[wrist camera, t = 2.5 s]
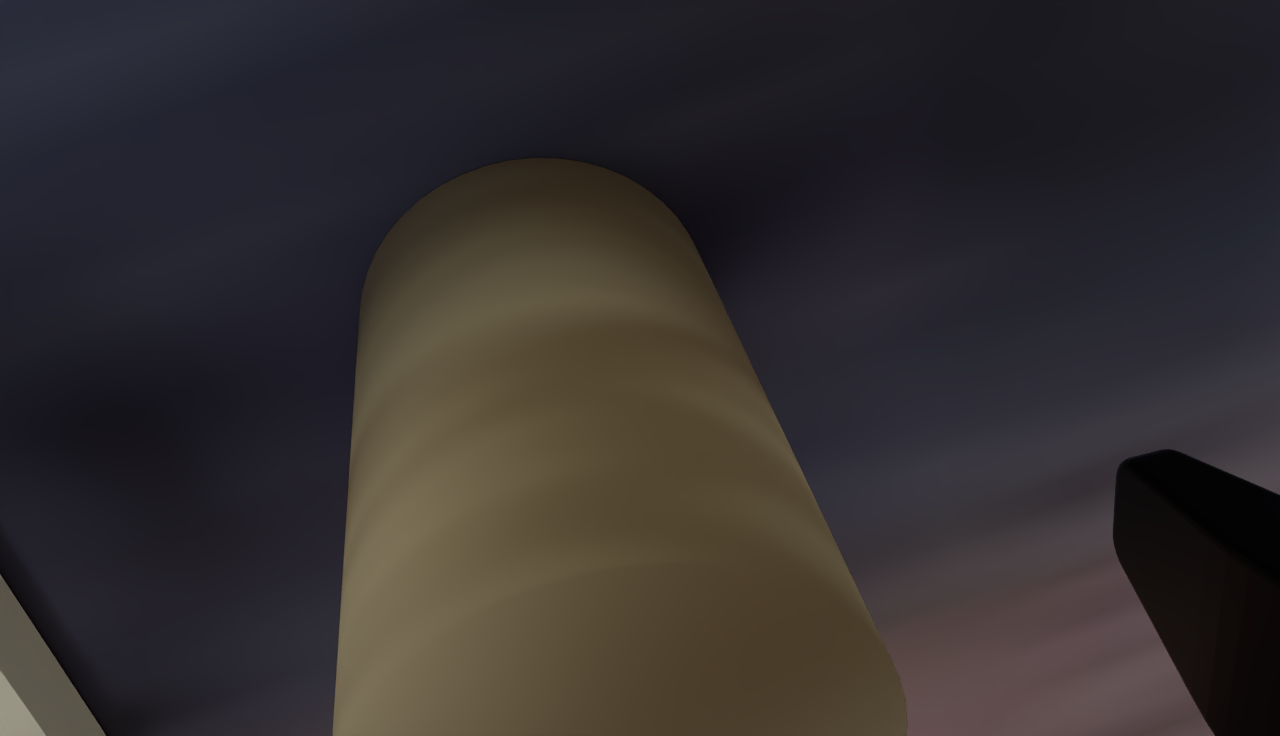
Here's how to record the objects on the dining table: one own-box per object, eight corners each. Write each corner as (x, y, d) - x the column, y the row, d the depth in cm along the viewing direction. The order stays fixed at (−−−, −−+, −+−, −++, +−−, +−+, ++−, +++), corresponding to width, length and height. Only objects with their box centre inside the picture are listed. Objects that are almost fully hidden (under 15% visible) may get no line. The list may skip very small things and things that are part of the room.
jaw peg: (766, 223, 13) (1013, 630, 8) (627, 493, 15) (753, 980, 10) (425, 105, 12) (444, 498, 7) (315, 417, 14) (259, 934, 8)
